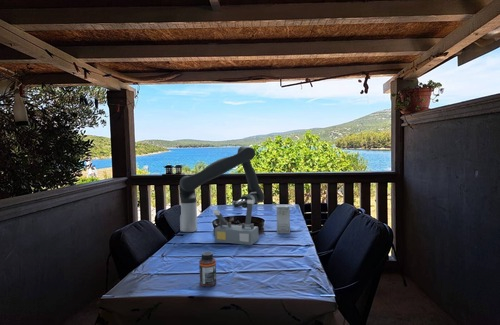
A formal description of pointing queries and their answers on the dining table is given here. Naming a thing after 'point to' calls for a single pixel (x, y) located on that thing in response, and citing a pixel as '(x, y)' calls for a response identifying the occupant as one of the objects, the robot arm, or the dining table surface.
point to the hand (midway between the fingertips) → (235, 205)
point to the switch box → (236, 234)
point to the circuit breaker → (283, 218)
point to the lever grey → (248, 213)
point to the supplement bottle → (207, 269)
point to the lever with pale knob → (220, 217)
